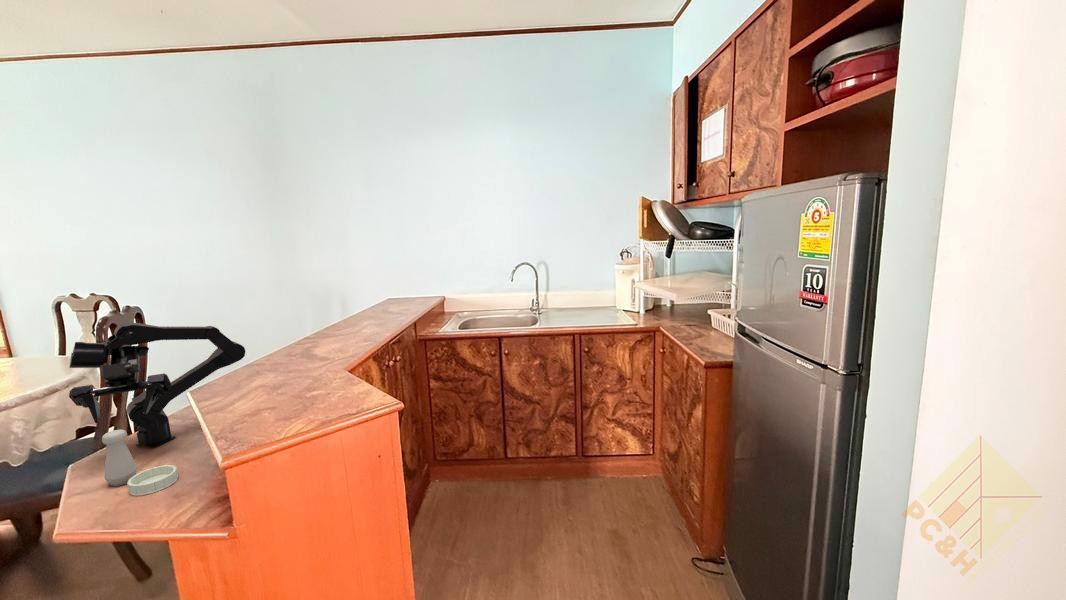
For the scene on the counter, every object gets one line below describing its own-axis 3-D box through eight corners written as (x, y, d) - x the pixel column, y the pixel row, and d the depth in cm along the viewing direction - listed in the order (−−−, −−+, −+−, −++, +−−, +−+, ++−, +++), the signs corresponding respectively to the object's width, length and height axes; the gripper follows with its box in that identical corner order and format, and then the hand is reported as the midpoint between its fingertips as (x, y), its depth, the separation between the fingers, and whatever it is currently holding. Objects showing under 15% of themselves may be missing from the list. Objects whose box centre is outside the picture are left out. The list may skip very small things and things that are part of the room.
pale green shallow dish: (158, 473, 107) (156, 463, 106) (187, 475, 105) (185, 466, 105) (119, 493, 98) (117, 484, 98) (149, 497, 97) (148, 487, 96)
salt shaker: (118, 489, 100) (108, 438, 98) (99, 487, 101) (89, 436, 99) (145, 475, 106) (136, 427, 104) (127, 473, 107) (118, 425, 105)
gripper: (64, 357, 105) (55, 414, 97) (162, 345, 115) (161, 395, 107) (80, 378, 112) (74, 433, 105) (171, 365, 122) (171, 414, 115)
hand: (121, 418), depth 108 cm, fingers open, 9 cm apart
